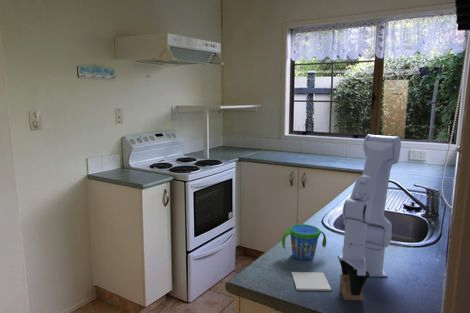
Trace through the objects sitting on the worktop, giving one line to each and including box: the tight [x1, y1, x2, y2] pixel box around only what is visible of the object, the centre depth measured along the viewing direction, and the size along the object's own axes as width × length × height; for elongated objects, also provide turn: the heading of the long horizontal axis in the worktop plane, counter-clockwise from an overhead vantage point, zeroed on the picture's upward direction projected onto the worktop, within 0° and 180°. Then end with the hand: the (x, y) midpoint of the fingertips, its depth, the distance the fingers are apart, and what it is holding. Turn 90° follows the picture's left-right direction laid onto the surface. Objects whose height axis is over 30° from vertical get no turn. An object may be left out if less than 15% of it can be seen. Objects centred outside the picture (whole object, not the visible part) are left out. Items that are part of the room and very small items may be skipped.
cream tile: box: [291, 271, 332, 292], centre depth 111 cm, size 10×10×1 cm
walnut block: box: [339, 274, 365, 301], centre depth 104 cm, size 5×5×5 cm
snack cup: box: [281, 223, 327, 261], centre depth 128 cm, size 16×10×10 cm
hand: (351, 287), depth 104 cm, fingers open, 7 cm apart
